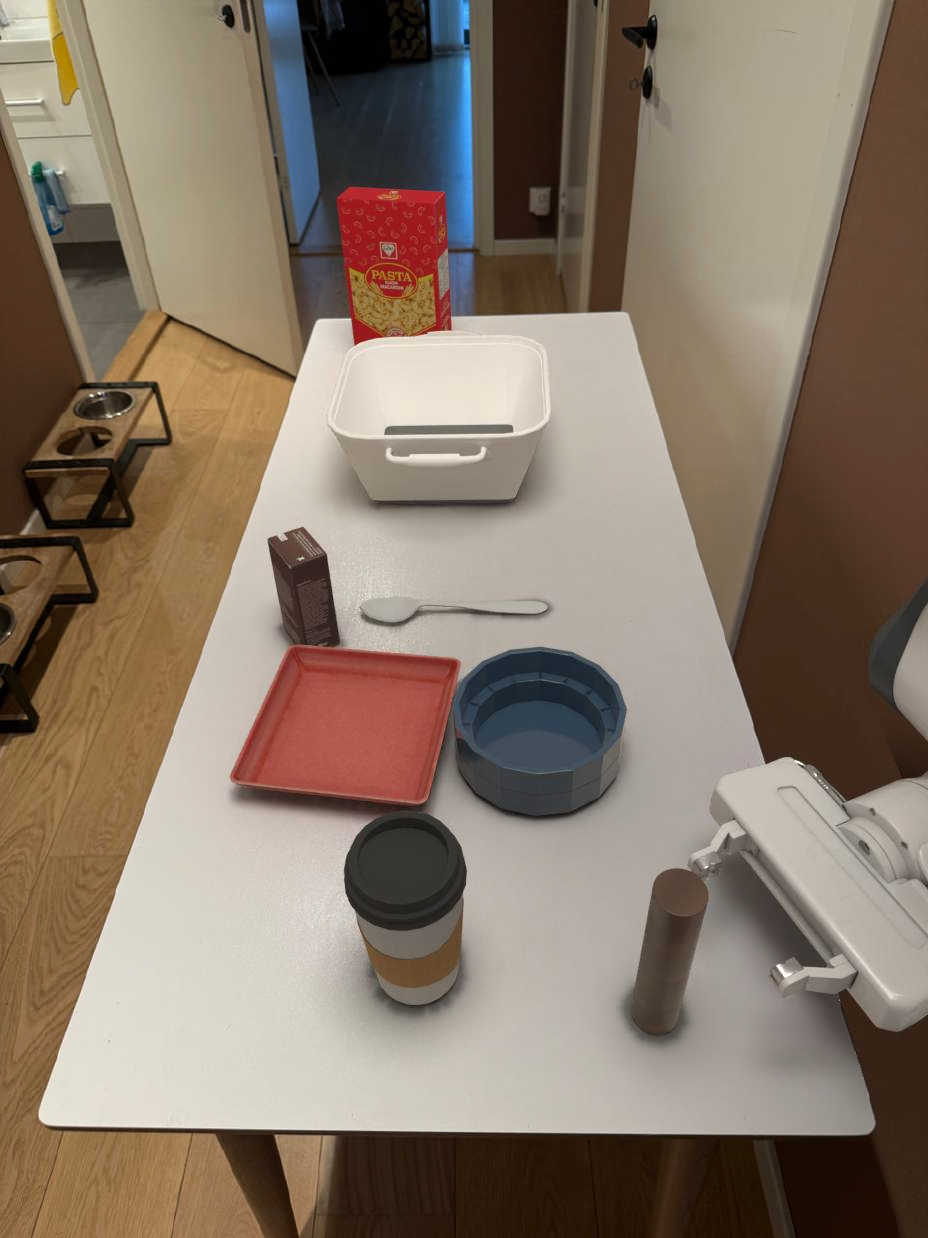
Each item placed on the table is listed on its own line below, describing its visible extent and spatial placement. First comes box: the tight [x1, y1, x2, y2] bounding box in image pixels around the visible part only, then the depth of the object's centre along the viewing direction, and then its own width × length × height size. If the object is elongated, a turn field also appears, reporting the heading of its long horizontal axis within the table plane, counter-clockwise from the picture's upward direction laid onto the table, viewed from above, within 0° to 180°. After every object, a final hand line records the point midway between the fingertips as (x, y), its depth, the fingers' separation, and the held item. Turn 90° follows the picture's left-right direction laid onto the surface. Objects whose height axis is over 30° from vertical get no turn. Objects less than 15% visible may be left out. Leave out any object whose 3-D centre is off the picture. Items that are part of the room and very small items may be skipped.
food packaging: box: [336, 186, 453, 347], centre depth 141 cm, size 15×5×25 cm, turn 74°
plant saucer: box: [229, 644, 462, 807], centre depth 88 cm, size 18×18×3 cm
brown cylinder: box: [630, 867, 710, 1036], centre depth 62 cm, size 3×3×16 cm
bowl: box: [452, 646, 628, 817], centre depth 84 cm, size 15×15×6 cm
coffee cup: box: [343, 810, 468, 1006], centre depth 66 cm, size 8×8×15 cm
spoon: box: [359, 596, 549, 623], centre depth 101 cm, size 4×21×2 cm, turn 91°
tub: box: [326, 330, 552, 505], centre depth 120 cm, size 34×27×13 cm
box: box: [266, 526, 341, 647], centre depth 96 cm, size 6×4×12 cm
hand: (732, 923), depth 63 cm, fingers open, 8 cm apart
